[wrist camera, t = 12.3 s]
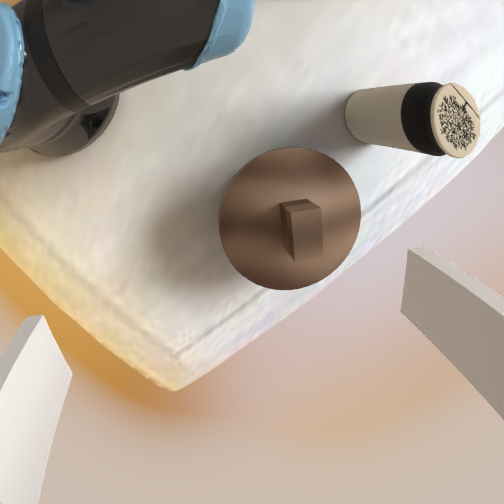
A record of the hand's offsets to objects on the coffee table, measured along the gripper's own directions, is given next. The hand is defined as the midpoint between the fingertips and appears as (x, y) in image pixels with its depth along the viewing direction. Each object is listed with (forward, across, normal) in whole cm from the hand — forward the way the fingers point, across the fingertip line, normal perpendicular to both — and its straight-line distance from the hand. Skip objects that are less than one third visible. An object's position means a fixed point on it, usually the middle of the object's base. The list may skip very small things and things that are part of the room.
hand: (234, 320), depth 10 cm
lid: (+24, +9, -5) cm, 26 cm away
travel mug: (+32, +24, +6) cm, 40 cm away
